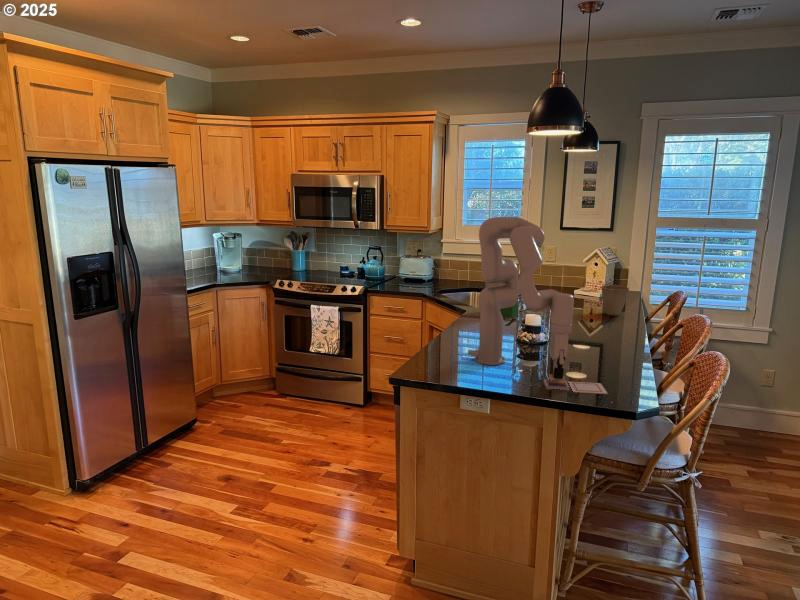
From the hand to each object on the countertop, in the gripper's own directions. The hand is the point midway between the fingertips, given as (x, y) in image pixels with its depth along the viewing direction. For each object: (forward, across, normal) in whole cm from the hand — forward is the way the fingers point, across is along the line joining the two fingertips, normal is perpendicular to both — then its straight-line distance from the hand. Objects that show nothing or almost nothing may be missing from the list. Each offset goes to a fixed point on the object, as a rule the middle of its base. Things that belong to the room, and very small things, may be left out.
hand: (557, 375), depth 193 cm
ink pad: (+4, 0, 0) cm, 4 cm away
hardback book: (+4, -111, -14) cm, 112 cm away
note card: (+4, 0, +11) cm, 12 cm away
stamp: (+3, 0, 0) cm, 3 cm away
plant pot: (+4, -124, +52) cm, 135 cm away
